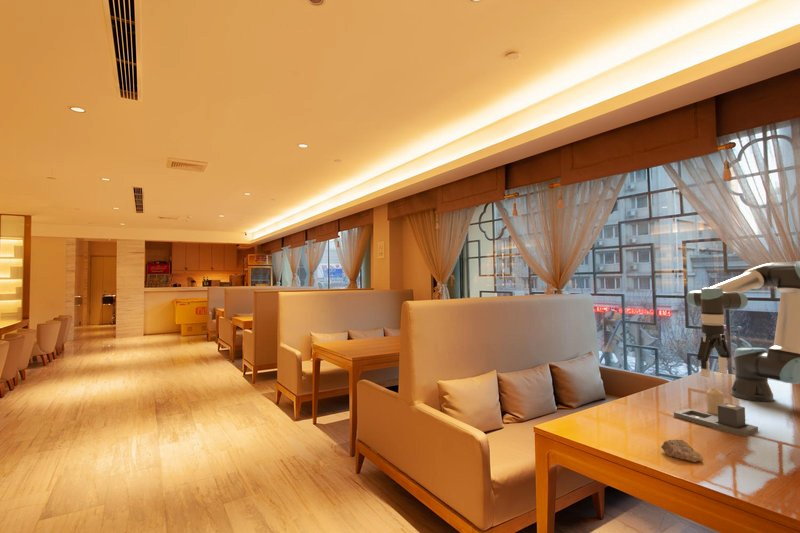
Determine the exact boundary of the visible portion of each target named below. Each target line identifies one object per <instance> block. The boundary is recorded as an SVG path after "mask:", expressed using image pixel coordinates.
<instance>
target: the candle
mask: <svg viewBox="0 0 800 533" xmlns="http://www.w3.org/2000/svg"><path fill="white" fill-rule="evenodd" d="M724 399H725V398H724V393H723V392H722V391H720V390H718V389H716V388H710V389H709V390H707V391H706V402H707V403H706V405H707V406H706V407H707V413H708V414H711V415H715V416H718V405H721V404H724V403H725V402H724Z"/></svg>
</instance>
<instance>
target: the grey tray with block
mask: <svg viewBox="0 0 800 533" xmlns="http://www.w3.org/2000/svg"><path fill="white" fill-rule="evenodd" d="M673 417H674V418H677V419H681V420H685V421H687V422H692V423H695V424H698V425H702V426H705V427H708V428H713V429H717V430H720V431H723V432H726V433H731V434H733V435H736V436H741V437H747V436H750V435H753V434H755V433H758V432H759V426H758V425H753V424H749V423H746V408H745V407H744V406H740V405H737V404H732V403H728V402H726V403H725V402H724V404H721V405H718V415H713V414H710V413H708V412H703V411H700V410H695V409H691V408H689V407H688V408H684V409H680V410H677V411H674V412H673Z"/></svg>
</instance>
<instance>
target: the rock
mask: <svg viewBox="0 0 800 533" xmlns="http://www.w3.org/2000/svg"><path fill="white" fill-rule="evenodd" d="M660 448H661V449H662V450H663V452H664V454H665V455H666V456H668V457H671V458H676V459H680V460H687V461H690V462H694V463H696V462H703V461H704V458H703V456H702V454H701V453H700V452H698V451H696V450H695V449H693V447H692V446H691V445H690V444H689V443H688V442H686V440H683V439H669V440H665V441H664V442H663V444H662V445H661V446H660Z"/></svg>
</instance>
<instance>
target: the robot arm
mask: <svg viewBox="0 0 800 533" xmlns="http://www.w3.org/2000/svg"><path fill="white" fill-rule="evenodd" d="M766 287H767V288H768V287H769V288H776V290H777V291H778V292H779V293H780V298H779V304H778V311H777V312H778V313H777V318H776V319H777V320H776V325H775V326H776V327H775V335H774V341H773V345H772V346H770V347H769V348H768V350H767V348H764V347H737V348H736V349H735V350H734V357H733V358H734V374H735V378H734V380H733V384H732V386H731V389H730V390H731V391H730V392H731V393H730V394H731V395H732V396H734V397H736V398H738V399H743V400H748V401H754V402H772V401H774V394H773V392H772V388H771V387H770V385H769V382H768V379H769V380H774V381H778V382H782V383H786V384H787V383H788V384H793V385H794V384H795V385H798V384H800V260H798V261H775V262H769V263H763V264H760V265H757V266H754V267H751V268H749V269H747V270H745V271H743V272H742V274H740V275H738V276H735V277H732V278H730V279H727V280H725V281H722V282H719V283H717V284H714V285H711V286H710V287H703V288H701V290H691V291H689V292H687V295H686V302H687V304H688V305H689V306H690V307H696V308H701V310H700V311H701V315H700V318H701V323H702V324H701V332H702V333H703V334H705V336H703V335H702V336H700V344H699V347H698V352H697V356H696V358H697V361H700V371H701V372H700V375H701V377H703V378H704V377H705V378H710V361H709V358H710V355H711V353H712V352H713V351H712V350H713V349H714V348H715V350H716V352H717V354H718V358H717V360H718V373H722V374H728V363H727V359H730V358H731V357H730V350H729V347H728V344H727V341H726V335H725V325H724V324H725V313H724V312H725V310H741V309H744V308H746V307H747V305H748V302H749V300H748V297H747V295H746V294H745V293H744V292H747V291H749V290H759V289H760V288H766Z"/></svg>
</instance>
